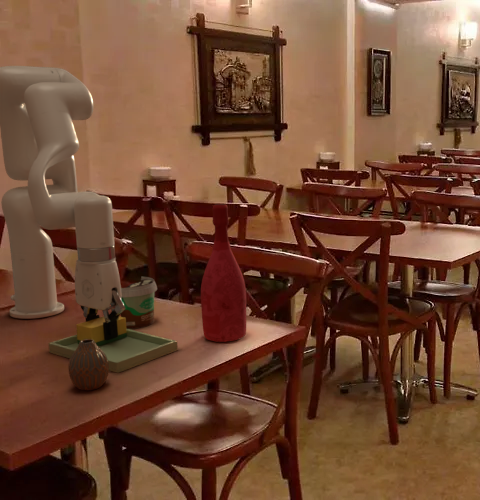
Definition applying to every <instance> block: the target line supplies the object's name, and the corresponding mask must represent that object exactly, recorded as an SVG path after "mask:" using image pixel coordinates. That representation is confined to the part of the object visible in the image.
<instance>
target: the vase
mask: <svg viewBox="0 0 480 500" xmlns="http://www.w3.org/2000/svg"><path fill="white" fill-rule="evenodd" d="M109 372H110V370H109V363H108V359H107V357H106V355H105V353H104V352H103V351H102V350H101V349H100V348H99V347H98V346H97V345H96V343H95V342H94V340H93V339H84V340H81V341H80V343H79V345H78V347H77V349H76V350H75V351H74V353H73V354H72V356H71V358H70V359H69V362H68V375H69V379H70V381H71V383H72V384H73V386H74V387H76V388H77V389H79V390H80V391H92V390H97V389H100V388H101V387H102V386H103V385H104V384H105V383H106V381H107V379H108V376H109Z"/></svg>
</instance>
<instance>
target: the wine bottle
mask: <svg viewBox="0 0 480 500" xmlns="http://www.w3.org/2000/svg"><path fill="white" fill-rule="evenodd" d="M228 211H229V207H228V205H227V204H226V203H215V204H214V205H212V225H213V226H214V240H213V246H212V250H211V253H210V257H209V259H208V261H207V264H206V267H205V269H204V273H203V275H202V280H201V283H200V284H201V285H200V286H201V287H200V307H201V322H202V333H203V336H204V338H205V339H207V340H209V341H211V342H215V343H229V342H234V341H237V340H241V339H242V338H243V337H244V336H245V335H246V333H247V290H246V289H247V288H246V282H245V278H244V276H243V273H242V270H241V268H240V266H239V263H238V262H237V260H236V258H235V255H234V254H233V251H232V248H231V242H230V241H229V231H228V225H229V223H230V219H229V214H228Z"/></svg>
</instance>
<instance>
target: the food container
mask: <svg viewBox="0 0 480 500" xmlns="http://www.w3.org/2000/svg"><path fill="white" fill-rule="evenodd" d="M140 277H141V278H140V280H139V281H137V282H134V283H130V284H129V285H128V286H126V287H121V297H122V299H121V300H122V302H123V304H124V306H125V310H124V311H123V312H122V313H121V314H120V317H124V318H126V329H130V330H134V329H140V328H145V327H148V326H151V325H153V323H154V322H155V292H157V290H158V286H157V283H156V281H155V279H153V278H152V277H149V276H140Z"/></svg>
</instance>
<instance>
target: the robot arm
mask: <svg viewBox="0 0 480 500" xmlns="http://www.w3.org/2000/svg"><path fill="white" fill-rule="evenodd" d="M94 106H95V105H94V100H93V96H92V93H91V92H90V90H89V88H88V87H87V86H86V84H85V83H84V82H82V81H81V80H80V79H79V78H77V77H76V76H75V75H73V74H72V73H71V72H69V71H68V70H66V69H65V68H61V67H52V66H51V67H50V66H31V65H5V66H0V138H1V147H2V157H3V164H4V170H5V172H6V175H7V176H8V178H9V179H11V180H14V181H20V182H23V181H26V182H27V185H25V186H23V185H22V186H17V187H14V188H10V189H8V190H7V191H6V192H5V193H4V194H3V195H2V197H1V203H0V205H1V209H2V210H1V211H2V214H3V217H4V222H5V224H6V228H7V233H8V234H7V235H8V241H9V249H10V259H11V267H12V268H11V269H12V280H13V289H14V291H13V292H14V293H13V294H12V295H10V301H13V302H14V306H12V307H11V308H10V309H9V311H8V312H9V316H10V317H11V318H15V319H21V320H29V319H30V320H31V319H41V318H48V317H51V316H55V315H58V314H60V313H62V312H64V310H65V304H64V303H62V302H60V301H58V295H57V284H56V283H57V281H56V271H55V259H54V258H55V257H54V249H53V248H54V247H53V242H52V239H51V237H50V236H49V234H47V233H46V232H45V231H44V230H43V229H45V230H49V231H53V230H63V229H64V230H65V229H70V228H75V239H76V252H77V253H76V254H77V260H76V262H75V270H74V296H75V297H74V298H75V303H76V304H77V305H79V306H80V309H81V310H82V312H83V318H85V322H87V321H90V320H93V319H97V318H100V314H98V311H102V315H103V317H104V319H105V322H103V328H104V339H105V340H110V339H113V338H116V337H118V327H117V320H118V319H119V317H121V313H122V312H123V311H124V310H125V306H124V304H123V302H122V300H121V299H122V297H121V288H122V285H121V277H120V273H119V272H120V271H119V268H118V263H117V261H116V259H117V258H116V246H115V230H114V216H113V215H114V214H113V203H112V200H111V198H109V196H106V195H100V194H98V193H96V192H95V191H78V190H79V189H78V179H77V169H76V160H75V156H74V155H76V153H77V152H78V151H79V149H80V142H79V139H78V135H77V133H76V129H75V125H74V123H73V121H87V120H89V119H90V118H91V117H92V115H93V113H94V108H95V107H94ZM46 180H51V181H52V184H46ZM110 310H111V312H109V311H110Z"/></svg>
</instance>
